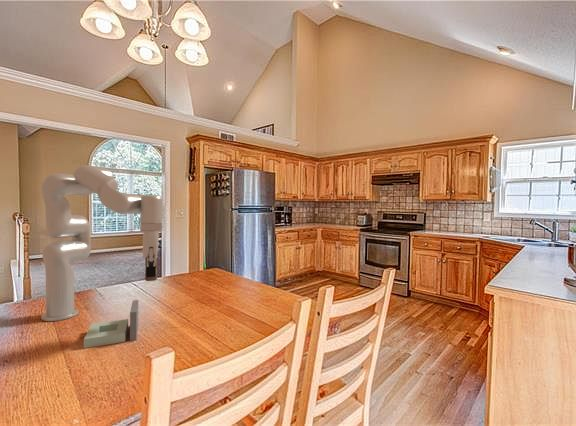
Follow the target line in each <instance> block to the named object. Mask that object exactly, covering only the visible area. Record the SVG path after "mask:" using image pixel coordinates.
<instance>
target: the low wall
mask: <svg viewBox="0 0 576 426" xmlns="http://www.w3.org/2000/svg"><path fill="white" fill-rule="evenodd" d="M129 311H130V312H129V341H130V342H132V341H137V338H138V330H139V299H134V300H132V302H131V307H130V310H129Z"/></svg>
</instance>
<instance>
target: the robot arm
mask: <svg viewBox="0 0 576 426" xmlns="http://www.w3.org/2000/svg"><path fill="white" fill-rule="evenodd" d="M118 183H119V182H118V181H117V180H116V179H115V177H114V174H113V172H112V171H111V170H110V169H109V168H107V167H101V166H97V165H88V164H86V165H84V164H83V165H80V166H78V167H76V168H75V169H74V171H73V174H70V173H52V174H49V175H47V176H45V178H44V179H43V181H42V183H41V189H40V190H41V196H42V198H43V201H44V202H43V203H44V208H45V209H44V210H45V211H44V213H45V229H46V234H47V235H48V237H49V238H52V239H62V238H71V239H70V240H61V241H60V240H59V241H58V240H57V241H53V242H50V243H48V244H46V245H45V246H44V247H43V249H42V252H41V254H42V260H43V262H44V263H43V264H44V268H45V313H43V314H42V315H41V316H40V320H42V321H45V322H55V321H62V320H66V319H70V318H73V317H74V316H75V317H76V316H77V315H78V314H79V311H80V310H79V309H78V308H75V271H74V270H73V267H72V266H70V263H73V262H74V263H75V262H79V261H82V260H83V261H84V260H86V259H88V257H89V256H90V255H91V251H92V243H91V242H92V241H91V239H92V238H91V225H90V222H89V220H88V219H87V218H86V217H85V216H84V215H81V214H80V215H79V214H72V206H71V203H70V202H69V200H68V199H67V197H66V196H65V195H67V196H68V195H69V196H89V195H92V194H96V195H98V200H99V201H100V203H101V204H102V205H103V206H104V207H105V208H107V209H109V210H111V211H112V212H114V213H116V214H120V215H132V214H133V215H134V214H135V215H137V214H139V215H140V225H139V226H140V227H139V229H140V231H139V232H140V233H143V234H142V259H143V260H145V258H146V257H147V267H146V277H155V276H156V266H155V258H157V259H158V252H159V238H160V237H159V235H160V232H161V233H162V232H163V197H162V196H161V195H157V194H137V193H123V192H121V191H118V188H119V184H118ZM153 256H154V258H153ZM148 257H149V258H148ZM153 263H154V266H153Z"/></svg>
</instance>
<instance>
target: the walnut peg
mask: <svg viewBox="0 0 576 426" xmlns="http://www.w3.org/2000/svg"><path fill="white" fill-rule="evenodd" d="M148 258H149V257H148ZM153 258H154V256H153ZM144 261H145V263H144V264H145V265H144V266H145V267H144V271H145V272H144V281H146V282H154V281H157V277H158V273H157V272H158V257H157V258H155V266H156V276H155V277H146V267H147V257H146V258H145V259H144ZM153 266H154V263H153Z"/></svg>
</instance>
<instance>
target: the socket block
mask: <svg viewBox="0 0 576 426" xmlns="http://www.w3.org/2000/svg"><path fill="white" fill-rule="evenodd" d="M128 330H129V318H124V319H123V318H122V319H115V320H108V321H107V320H106V321H100V322H93V323H91V324H90V326H89V328H88V329H87V333H86V335H85V336H84V338H83V348H84V349H86V348H93V347H99V346H101V347H102V346H105V345H106V346H107V345H112V344H119V343H125V342H126V339H127V335H128Z"/></svg>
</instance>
